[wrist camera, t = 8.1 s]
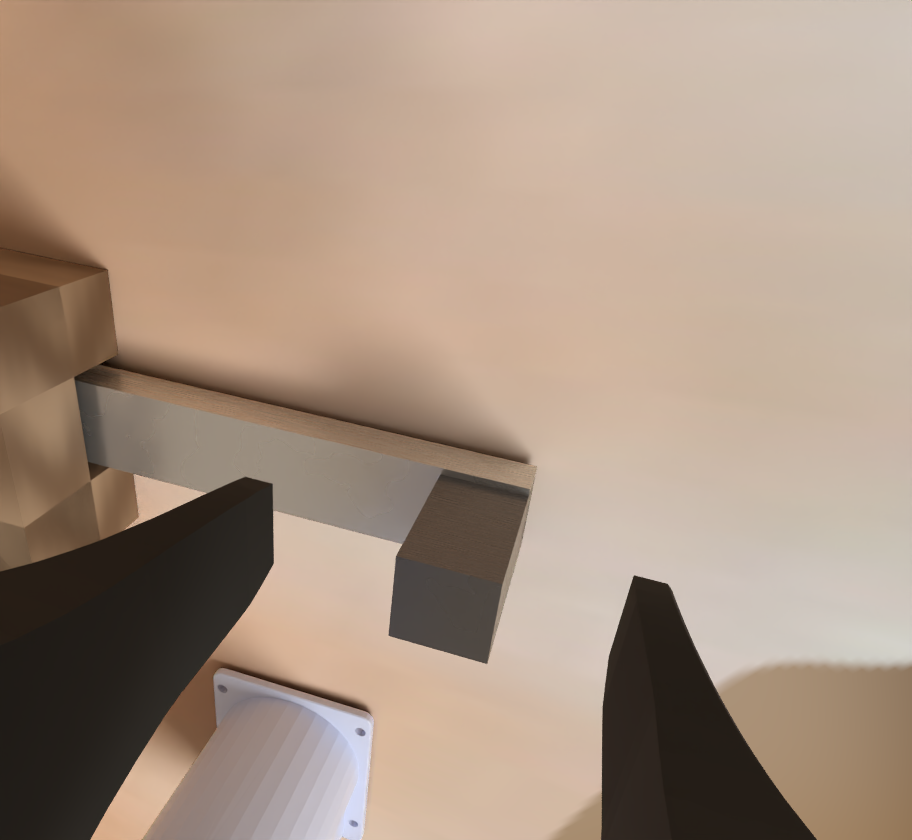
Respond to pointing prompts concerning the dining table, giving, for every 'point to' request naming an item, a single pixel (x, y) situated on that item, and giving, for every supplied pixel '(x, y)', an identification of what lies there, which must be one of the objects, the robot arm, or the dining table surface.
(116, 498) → the bearing block
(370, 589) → the dining table surface
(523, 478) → the grey l-shaped bar
